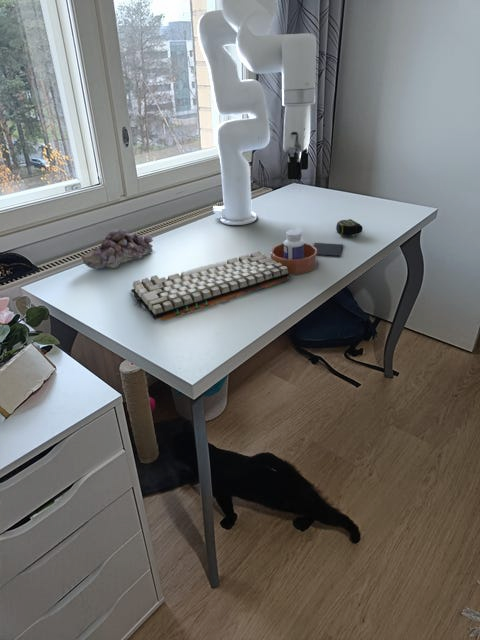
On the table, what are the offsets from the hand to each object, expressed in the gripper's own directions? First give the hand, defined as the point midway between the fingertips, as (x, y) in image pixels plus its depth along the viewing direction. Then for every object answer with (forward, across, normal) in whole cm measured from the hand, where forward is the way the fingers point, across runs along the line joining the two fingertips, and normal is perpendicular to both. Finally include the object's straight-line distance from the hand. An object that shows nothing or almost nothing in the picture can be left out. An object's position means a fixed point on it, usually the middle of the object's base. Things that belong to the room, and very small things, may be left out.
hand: (298, 174), depth 112 cm
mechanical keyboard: (+24, +19, -18) cm, 35 cm away
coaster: (+23, -9, +7) cm, 26 cm away
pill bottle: (+23, +2, -1) cm, 24 cm away
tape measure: (+24, -23, +12) cm, 35 cm away
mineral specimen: (+23, +9, -50) cm, 56 cm away
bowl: (+24, +2, -1) cm, 24 cm away
